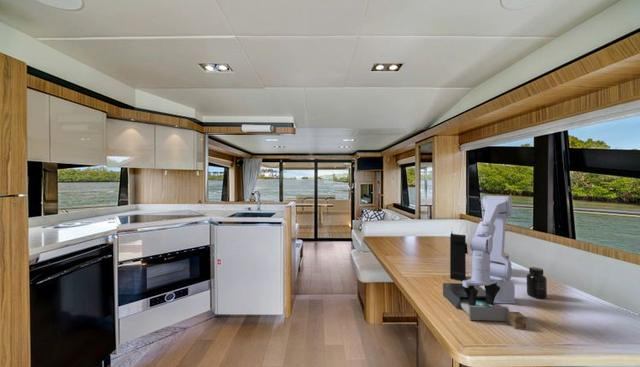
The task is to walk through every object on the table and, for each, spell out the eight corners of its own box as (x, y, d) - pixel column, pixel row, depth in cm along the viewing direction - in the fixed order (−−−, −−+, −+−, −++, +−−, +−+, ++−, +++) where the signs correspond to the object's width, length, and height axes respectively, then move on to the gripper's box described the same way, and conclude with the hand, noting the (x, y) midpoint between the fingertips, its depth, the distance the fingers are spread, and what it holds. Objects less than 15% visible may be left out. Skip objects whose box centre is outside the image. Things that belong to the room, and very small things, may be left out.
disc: (490, 308, 99) (490, 303, 99) (490, 315, 94) (490, 309, 94) (472, 305, 102) (472, 300, 102) (472, 311, 97) (472, 305, 97)
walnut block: (518, 323, 92) (518, 311, 92) (526, 329, 88) (526, 317, 88) (508, 323, 92) (508, 311, 92) (515, 328, 88) (515, 316, 89)
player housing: (475, 296, 115) (475, 283, 115) (493, 310, 102) (493, 296, 102) (442, 295, 115) (443, 282, 116) (456, 308, 102) (456, 295, 103)
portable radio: (467, 278, 137) (468, 230, 137) (467, 281, 132) (467, 232, 132) (451, 275, 141) (451, 228, 141) (449, 278, 136) (450, 230, 136)
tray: (486, 304, 105) (486, 293, 106) (508, 321, 93) (508, 308, 93) (453, 303, 106) (453, 292, 106) (470, 319, 93) (470, 306, 93)
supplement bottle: (547, 296, 115) (547, 268, 116) (546, 300, 110) (546, 272, 111) (527, 291, 120) (527, 265, 120) (525, 296, 115) (525, 268, 115)
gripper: (488, 264, 104) (488, 298, 104) (456, 266, 101) (456, 301, 101) (504, 269, 97) (504, 306, 97) (470, 272, 94) (470, 310, 94)
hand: (481, 304), depth 98 cm, fingers open, 7 cm apart
